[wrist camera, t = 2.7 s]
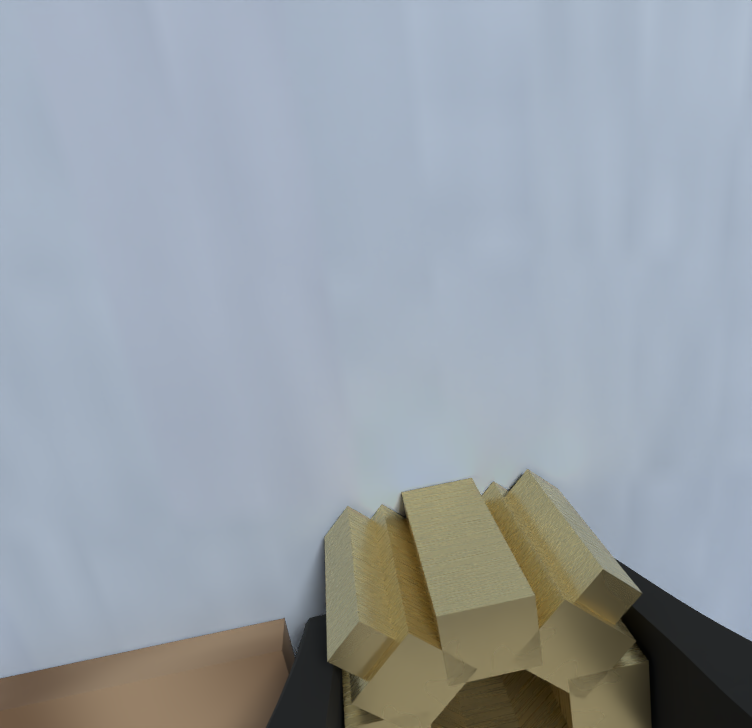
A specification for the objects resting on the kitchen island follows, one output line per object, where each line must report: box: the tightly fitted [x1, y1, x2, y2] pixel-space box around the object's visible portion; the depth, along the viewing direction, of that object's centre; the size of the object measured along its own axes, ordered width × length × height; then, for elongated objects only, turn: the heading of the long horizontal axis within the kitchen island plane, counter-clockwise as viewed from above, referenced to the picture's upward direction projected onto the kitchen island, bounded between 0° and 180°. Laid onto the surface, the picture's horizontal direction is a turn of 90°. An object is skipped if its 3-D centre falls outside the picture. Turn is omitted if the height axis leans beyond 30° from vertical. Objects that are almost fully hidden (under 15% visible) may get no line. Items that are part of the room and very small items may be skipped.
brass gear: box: [325, 469, 652, 728], centre depth 12 cm, size 5×5×4 cm
